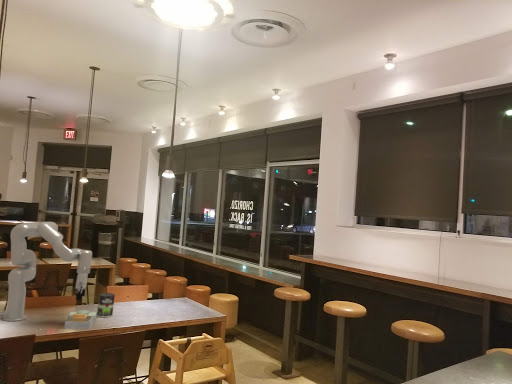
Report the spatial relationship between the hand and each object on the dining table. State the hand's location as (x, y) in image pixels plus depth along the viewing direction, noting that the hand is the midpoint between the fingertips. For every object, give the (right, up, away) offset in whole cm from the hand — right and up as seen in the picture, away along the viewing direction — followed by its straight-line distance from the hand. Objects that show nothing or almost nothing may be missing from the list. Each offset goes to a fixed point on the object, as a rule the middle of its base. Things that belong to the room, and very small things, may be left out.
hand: (80, 297), depth 248 cm
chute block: (0, -16, -1) cm, 16 cm away
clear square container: (-1, -17, -1) cm, 17 cm away
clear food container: (-3, -17, +10) cm, 20 cm away
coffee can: (+6, -19, +24) cm, 31 cm away
